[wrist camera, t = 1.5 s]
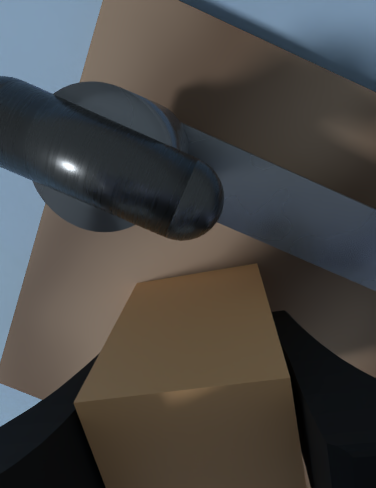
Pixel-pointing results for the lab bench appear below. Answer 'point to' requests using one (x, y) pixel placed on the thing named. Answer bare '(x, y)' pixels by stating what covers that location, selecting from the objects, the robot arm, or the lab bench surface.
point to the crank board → (219, 237)
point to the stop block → (193, 389)
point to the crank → (171, 177)
